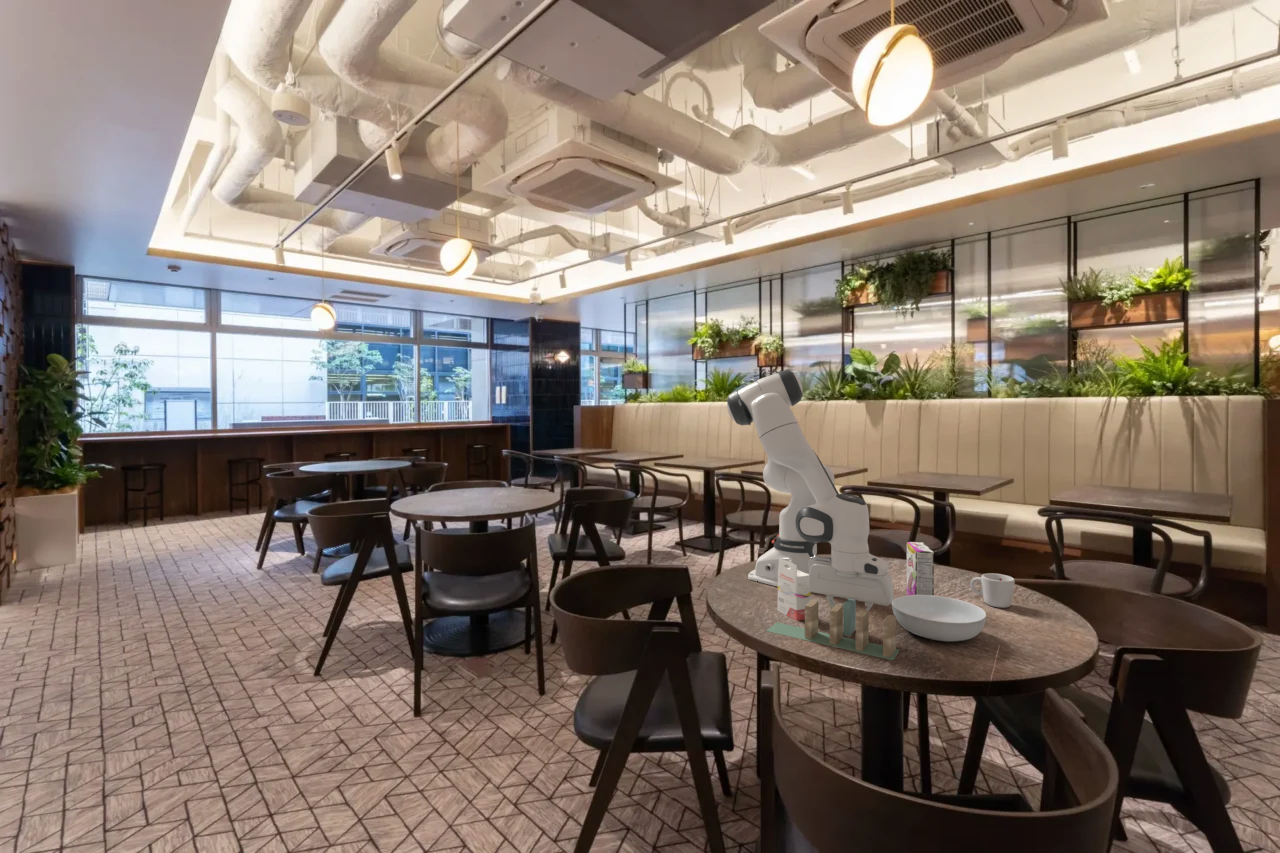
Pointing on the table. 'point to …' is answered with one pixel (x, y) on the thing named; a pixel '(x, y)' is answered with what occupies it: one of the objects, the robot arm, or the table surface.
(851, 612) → the domino
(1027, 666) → the table surface
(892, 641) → the domino
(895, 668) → the table surface
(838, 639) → the domino
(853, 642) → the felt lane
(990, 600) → the cup
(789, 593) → the ink cartridge box
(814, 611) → the domino
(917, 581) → the candy bar box
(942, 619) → the serving bowl
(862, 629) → the domino
